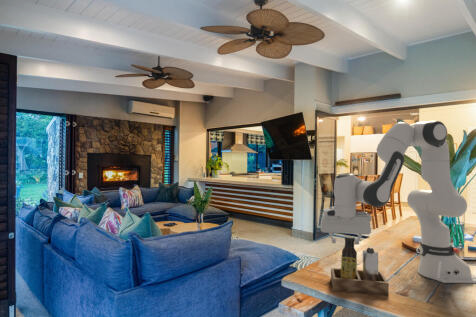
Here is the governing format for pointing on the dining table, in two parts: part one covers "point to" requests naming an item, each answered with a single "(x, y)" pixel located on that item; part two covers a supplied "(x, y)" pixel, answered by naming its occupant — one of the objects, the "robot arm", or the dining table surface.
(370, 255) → the pepper mill
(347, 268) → the sauce bottle
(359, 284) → the condiment caddy
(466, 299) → the dining table surface
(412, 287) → the dining table surface
